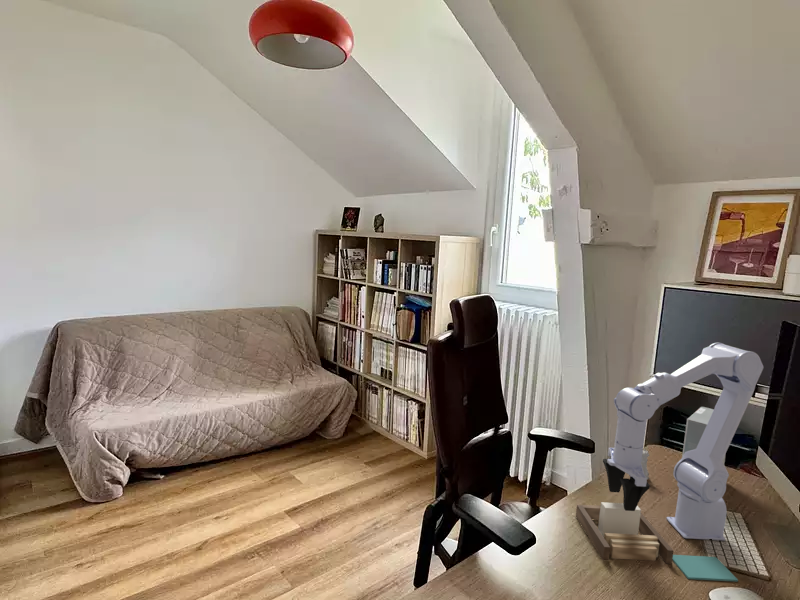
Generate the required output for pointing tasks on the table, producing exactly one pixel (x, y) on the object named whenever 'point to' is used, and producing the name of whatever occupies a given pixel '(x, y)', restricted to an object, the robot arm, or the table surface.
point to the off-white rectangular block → (618, 519)
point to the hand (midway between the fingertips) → (621, 500)
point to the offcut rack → (585, 518)
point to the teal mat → (703, 568)
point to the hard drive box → (696, 429)
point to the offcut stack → (632, 546)
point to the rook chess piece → (645, 462)
